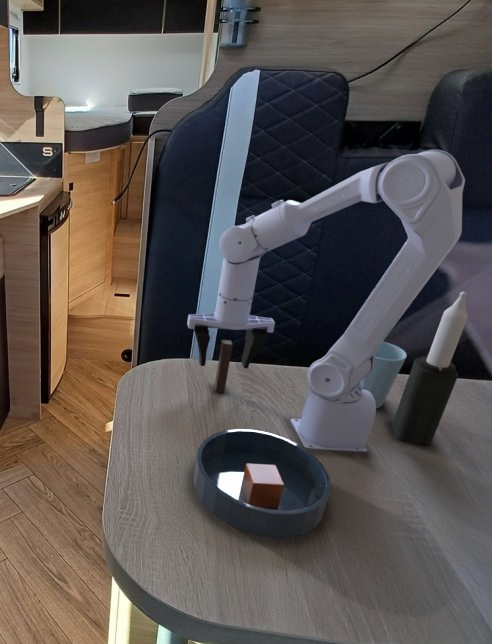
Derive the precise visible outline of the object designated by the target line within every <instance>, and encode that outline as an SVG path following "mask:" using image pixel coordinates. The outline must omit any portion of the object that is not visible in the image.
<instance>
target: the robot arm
mask: <svg viewBox="0 0 492 644" xmlns="http://www.w3.org/2000/svg"><path fill="white" fill-rule="evenodd" d="M465 183H466V179H465V176H464V174H463V172H462V170H461V168H460V166H459V163H458V162H457V160H456V158H455V157H454V156H453V155H452V154H451V153H449V152H447V151H445V150H441V149H427V150H424V151H421V152H418V153H410V154H405V155H400V156H399V157H396V158H395V159H393V160H391V161H389V162H384V163H380V164H378V165H375V166H372V167H370V168H367V169H364V170H361V171H359V172H357V173H355V174H353V175H351V176H350V177H348V178H346V179H344V180H342V181H341V182H338V183H337V184H335V185H333V186H331V187H330V188H328V189H326V190H323V191H322V192H319V194H316V195H315V196H314V195H313V197H310V198H309V199H306V200H305V201H303V202H299V201H297V200H293V199H288V200H286V201H285V200H284V199H279V200H277V201H275V202H273V203H271V207H272V208H270V209H268V210H267V211H265V212H262V213H260V214H258V215H253V214H252V215H250V216H248V217H246V218H245V221H246V222H245V223H244V224H240V225H232V226H230V227H228V229H226V230H225V231H223V233H222V235H220V238H219V242H218V248H219V252H220V254H221V256H222V257H223V260H222V265H221V272H220V278H219V284H218V289H217V290H218V292H217V297H216V304H215V310H214V312H206V313H195V314H194V313H193V314H192V313H191V314H188V316H187V322H186V324H187V328H188V329H190V330H193V331H194V334H195V339H196V342H197V348H198V362H199V365H200V367H206V363H207V352H208V348H209V343H210V340H211V336H210V330H209V329H218V330H219V329H220V330H221V329H222V330H233V331H242V330H244V331H246V332H245V341H244V347H243V352H242V355H241V365H242V366H243V369H249V367H250V365H251V362H252V361H253V359H254V357H255V356H256V354H257V352H258V351H259V350H260V349H261V347H262V346H264V345H265V344H266V343H267V341H268V337H269V335H268V334H267V333H274V330H275V324H276V322H275V320H274V319H273V318H272V317H263V316H257V315H252V314H251V309H252V305H253V304H252V303H253V299H254V293H255V288H256V283H257V282H256V281H257V275H258V272H259V267H260V261H261V258H262V256H263V255H265V254H266V253H267V252H270V251H272V250H274V249H277V248H278V247H280V246H281V247H282V246H283V245H286V244H288V243H291V241H292V242H293V241H294V240H297V239H300V238H301V237H303V236H306V234H307V233H308V231H309V229H310V226H311V224H312V222H315V221H317V220H319V219H322V218H324V217H327V216H329V215H332V214H333V213H336V212H338V211H341V210H344V209H346V208H348V207H351V206H352V205H355V204H357V203H360V202H365V203H370V204H377V203H380V202H384V203H385V204H386V205H387V207H389V208H390V209H391V210H392V212H393V213H394V214H395V215H396V216H397V217H398V218H399V219H400V220H401V223H402V226H403V228H404V230H405V233H406V235H407V240H406V241H405V243H404V244H403V245H402V247H401V249H400V250H399V251H398V253H397V255H396V256H395V257H394V259H393V260H392V262H391V263H390V265H389V266H388V268H387V269H386V270H385V272H384V274H383V275H382V276H381V278H380V280H378V282H377V284H376V285H375V287H374V288H373V289H372V291H371V293H370V295H369V296H368V298H367V299H366V300H365V302H364V303H363V305H362V306H361V307H360V309H359V311H358V312H357V314H356V315H355V317H354V318H353V319H352V321H351V322H350V324H349V325H348V327H347V328H346V330H345V331H344V333H343V334H342V335H341V336H340V337H339V339H337V341H336V342H334V344H333V345H332V346H331V347H330V348H329V350H328V351H327V353H326V354H325V355H324V356H323V357H321V358H319V359H317V360H315V361H314V362H312V363H311V365H310V366H309V367H308V369H307V373H306V376H307V377H306V378H307V382H308V384H309V387H308V390H307V394H306V398H305V402H304V407H303V410H302V414H301V417H300V418H290V419H289V420H290V422H291V425H292V426H293V428H294V429H295V431H296V433H297V435H298V437H299V439H300V440H301V443H302V444H303V446H304V448H305V449H312V450H313V449H314V450H327V451H328V450H330V451H349V452H365V453H366V452H368V449H367V447H366V446H367V445H368V444H367V443H368V440H369V438H370V434H371V431H372V428H373V425H374V423H375V420H376V415H377V408H376V403H375V399H374V397H373V395H372V394H371V392H369V391H368V390H364V389H362V388H361V383H360V382H361V380H362V379H364V378H365V377H367V376H368V375H369V374H370V373H371V372H372V370H373V366H374V358H375V355H376V354H377V352H378V351H379V349H380V345H381V343H382V342H385V341H384V340H385V339H386V338H387V337H388V335H389V334H390V332H391V331H392V330H393V328H394V327H395V326H396V325H397V323H398V322H399V321H400V319H401V318H402V316H403V315H404V314H405V313H406V311H407V310H408V309H409V307H410V306H411V304H412V303H413V301H414V300H415V299H416V298H417V296H418V295H419V293H420V292H421V291H422V289H423V288H424V287H425V285H426V284H427V283H428V282H429V280H430V279H431V277H432V276H433V275H434V273H435V272H436V271H437V269H438V268H439V266H440V265H441V264H442V263H443V262H444V260H445V259H446V257H447V256H448V255H449V253H450V252H451V250H452V249H453V248H454V246H455V245H457V242H458V241H459V239H460V237H461V235H462V232H463V192H464V187H465Z"/></svg>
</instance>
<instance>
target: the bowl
mask: <svg viewBox="0 0 492 644" xmlns="http://www.w3.org/2000/svg"><path fill="white" fill-rule="evenodd" d="M246 463H249V464H266V465H276V467H277V470H278V472H279V474H280V477H281V479H282V481H283V483H284V488H283V492H282V496H281V500H280V503H279V507H278V508H270V507H255V506H251V505H249V504H247V501H246V498H245V495H244V492H243V489H242V486H241V485H242V480H243V475H244V471H245V466H246ZM192 480H193V481H192V482H193V487H194V491H195V493H196V495H197V497H198V498H199V500H200V502H201V503H202V504H203V505H204V506H205V508H206V509H207V510H208V511H210V512H211V513H212V514H213V515H214V516H216V517H217V518H218V519H219V520H221V521H222V522H224V523H226V524H227V525H229V526H232V527H233V528H235V529H237V530H240V531H242V532H245V533H249V534H251V535H255V536H260V537H265V538H272V539H273V538H274V539H286V538H294V537H298V536H302V535H304V534H307V533H309V532H310V531H312V530H314V529H315V528H316V527H317V526H318V524H320V523H321V521H322V520H323V516H324V514H325V510H326V506H327V504H328V500H329V497H330V494H331V491H332V483H331V478H330V475H329V473H328V471H327V470H326V468H325V465H324V464H323V463H322V462H321V461H320V460H319V459H318V458H317V457H316V456H315V455H314V454H313V453H312V452H310V451H309V450H308V449H307V448H305V447H303V446H302V445H300V444H298V443H297V442H294V441H292V440H290V439H288V438H286V437H283V436H280V435H277V434H275V433H271V432H268V431H262V430H257V429H247V428H236V429H234V428H233V429H227V430H226V429H225V430H222V431H219V432H216V433H213V434H212V435H210V436H208V437H207V438H205V439H204V440H203V441H202V442H201V444H200V445H199V447H198V448H197V452H196V458H195V464H194V470H193V477H192Z"/></svg>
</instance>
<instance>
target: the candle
mask: <svg viewBox="0 0 492 644" xmlns="http://www.w3.org/2000/svg"><path fill="white" fill-rule="evenodd" d="M467 296H468V293H467V292H466V291H461V292H460V293H459V296H458V298H457V299H456V300H455V302H454V303H453V304H452V305H450V306H449V307H448V308H447V309H445V310H444V311H443V314H442V316H441V319H440V322H439V325H438V327H437V330H436V332H435V335H434V338H433V342H432V344H431V346H430V349H429V351H428V354H427V355H423V356H421V357H416V358H415V359H414V361H413V363H412V367H411V369H410V373H409V375H408V378H407V381H406V383H405V387H404V389H403V391H402V394H401V398H400V400H399V404H398V406H397V409H396V412H395V414H394V418H393V420H392V423H391V429H392V431H393V434H394V436H395V438H396V439H397V440H399V441H402V442H405V443H406V442H408V443H413V444H418V445H422V446H426V447H427V446H431V445H432V442H433V441H434V438H435V435H436V432H437V430H438V427H439V425H440V423H441V420H442V417H443V416H444V415H443V414H444V413H445V409H446V408H447V405H448V402H449V400H450V398H451V395H452V392H453V390H454V388H455V385H456V383H457V380H458V378H459V374H458V372H457V370H456V365H455V364H454V363H453V362H452V359H453V357H454V354H455V351H456V349H457V346H458V345H459V341H460V338H461V336H462V334H463V330H464V328H465V325H466V323H467V321H468V318H469V315H468V312H467V310H466V297H467Z"/></svg>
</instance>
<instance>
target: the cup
mask: <svg viewBox="0 0 492 644" xmlns="http://www.w3.org/2000/svg"><path fill="white" fill-rule="evenodd" d="M407 357H408V356H407V352H406V351H405V350H404V349H402V348H400V347H399V346H397V345H396V344H392V343H389V342H386V341H383V342H382V343H381V345H380V349H379V351H378V352H377V354H376V355H375V358H374V366H373V370H372V372H371V373H370V374H369V375H368V376H367V377H365V378H364V379H362V380H361V382H360V383H361V388H362V389H364V390H368V391H369V392H371V394H372V395H373V397H374V399H375V403H376V409H379V408H381V407H382V406H383V405H384V403H385V401H386V398H387V396H388V395H389V392H390V391H391V389H392V386H393V384H394V383H395V380H396V379H397V377H398V374H399V373H400V371H401V369H402V367H403V365H404V363H405V361H406V359H407Z"/></svg>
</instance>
